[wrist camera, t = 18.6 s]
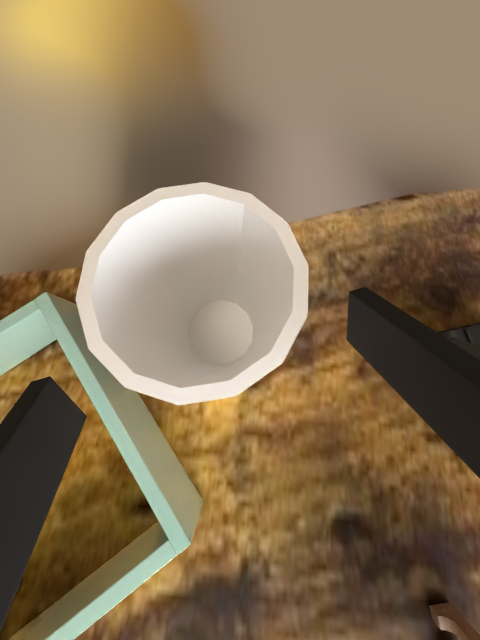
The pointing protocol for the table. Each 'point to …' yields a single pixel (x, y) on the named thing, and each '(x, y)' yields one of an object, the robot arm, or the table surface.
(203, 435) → the table surface
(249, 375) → the foam cup
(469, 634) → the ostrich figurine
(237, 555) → the table surface
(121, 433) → the square frame
